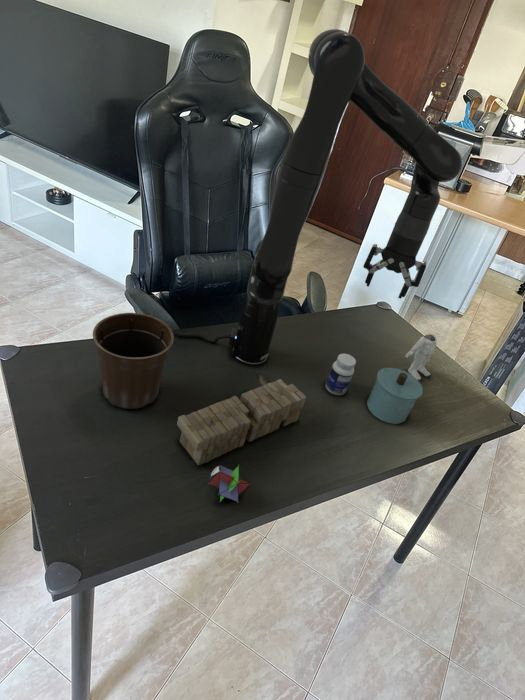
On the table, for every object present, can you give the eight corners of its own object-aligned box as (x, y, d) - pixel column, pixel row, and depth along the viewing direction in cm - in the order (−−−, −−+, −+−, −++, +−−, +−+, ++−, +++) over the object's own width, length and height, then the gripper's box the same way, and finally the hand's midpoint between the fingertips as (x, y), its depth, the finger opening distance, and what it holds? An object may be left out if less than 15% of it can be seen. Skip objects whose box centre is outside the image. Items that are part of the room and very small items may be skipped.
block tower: (276, 403, 118) (172, 442, 100) (285, 376, 114) (177, 413, 96) (297, 424, 114) (192, 469, 96) (307, 397, 109) (198, 440, 91)
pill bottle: (323, 380, 129) (334, 350, 123) (343, 382, 130) (355, 353, 124) (327, 394, 124) (338, 364, 118) (348, 397, 125) (360, 367, 119)
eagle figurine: (287, 390, 120) (255, 373, 120) (293, 383, 113) (259, 365, 114) (273, 417, 117) (241, 399, 118) (278, 412, 111) (244, 392, 111)
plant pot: (89, 416, 101) (89, 356, 92) (94, 367, 114) (95, 309, 105) (167, 417, 106) (175, 360, 97) (164, 369, 118) (171, 314, 109)
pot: (368, 420, 120) (384, 385, 113) (362, 390, 129) (377, 356, 122) (412, 429, 120) (431, 395, 114) (404, 398, 130) (421, 365, 123)
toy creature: (411, 384, 136) (428, 350, 129) (395, 371, 139) (411, 337, 133) (436, 374, 143) (454, 341, 136) (420, 361, 146) (437, 329, 139)
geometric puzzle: (255, 476, 95) (237, 451, 91) (255, 505, 90) (236, 480, 86) (223, 486, 97) (203, 462, 93) (221, 516, 92) (200, 491, 87)
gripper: (378, 226, 112) (354, 287, 121) (438, 247, 110) (409, 307, 119) (382, 217, 118) (359, 276, 127) (439, 237, 116) (412, 295, 125)
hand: (383, 291), depth 123 cm, fingers open, 8 cm apart
